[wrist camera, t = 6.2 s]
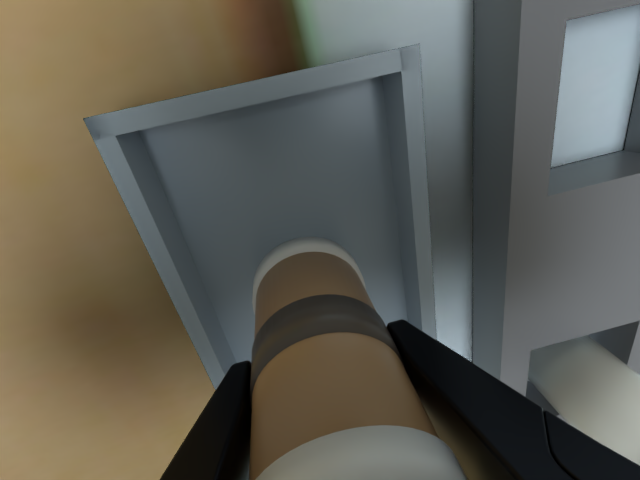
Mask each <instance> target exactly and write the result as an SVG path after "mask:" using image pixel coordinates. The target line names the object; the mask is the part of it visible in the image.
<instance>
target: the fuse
mask: <svg viewBox="0 0 640 480" xmlns="http://www.w3.org/2000/svg"><path fill="white" fill-rule="evenodd" d="M527 380H528V381H530V382H531V383H532V384H533V385H534V386H535V387H536V389H537V390H538V391H539V392H540V393H541V394H542V395H543V396H544V397H545V399H546V400H547V401H548V402H549V403H550V404H551V405H552V406H553V407H554V409H555V410H556V411H557V412H558V413H559V414H560V415H561V416H562V417H563V419H564V420H565V421H566V422H567V423H568V424H570V425H571V426H573V427H575V428H576V429H578V430H580V431H581V432H583V433H584V434H586V435H588V436H589V437H591V438H593V439H594V440H596V441H598V442H599V443H601V444H603V445H604V446H606V447H608V448H610V449H611V450H613V451H615V452H617V453H619V454H620V455H622V456H624V457H626V458H628V459H629V460H631V461H633V462H635V463H636V464H638V465H640V375H639V374H638V373H637V372H635V371H634V370H633V369H631V368H630V367H629V366H628V365H626V364H625V363H624V362H622V361H621V360H620V359H619V358H617V357H616V356H615V355H613V354H612V353H611V352H609V351H608V350H607V349H606V348H604V347H603V346H602V345H600V344H599V343H598V342H596V341H595V340H594V339H593V338H591V337H590V336H589V335H585V336H581V337H578V338H574V339H571V340H567V341H563V342H560V343H556V344H552V345H549V346H545V347H541V348H538V349H534V350H531V351H530V361H529V370H528V379H527Z"/></svg>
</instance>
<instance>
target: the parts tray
mask: <svg viewBox="0 0 640 480" xmlns="http://www.w3.org/2000/svg"><path fill="white" fill-rule="evenodd" d="M83 120H84V122H85V124H86V126H87V128H88V130H89V132H90V134H91V136H92V138H93V140H94V142H95V144H96V146H97V148H98V150H99V152H100V154H101V156H102V158H103V161H104V163H105V165H106V167H107V169H108V171H109V173H110V175H111V177H112V179H113V181H114V183H115V185H116V187H117V189H118V191H119V193H120V195H121V197H122V199H123V201H124V204H125V206H126V208H127V210H128V212H129V214H130V216H131V218H132V220H133V222H134V224H135V226H136V228H137V230H138V232H139V234H140V236H141V238H142V240H143V242H144V245H145V247H146V249H147V251H148V253H149V255H150V257H151V259H152V261H153V263H154V265H155V267H156V269H157V271H158V273H159V275H160V277H161V279H162V281H163V283H164V286H165V288H166V290H167V292H168V294H169V296H170V298H171V300H172V302H173V304H174V306H175V308H176V310H177V312H178V314H179V316H180V318H181V320H182V322H183V324H184V327H185V329H186V331H187V333H188V335H189V337H190V339H191V341H192V343H193V345H194V347H195V349H196V351H197V353H198V355H199V357H200V359H201V361H202V363H203V365H204V367H205V370H206V372H207V374H208V376H209V378H210V380H211V382H212V384H213V386H214V388H215V390H216V389H217V387H218V386H219V384H220V383H221V381H222V379H223V378H224V376H225V375H226V373H227V372H228V370H229V368H230V367H231V366H232V365H233V364H235V363H238V362H242V361H246V360H248V361H250V362H251V356H252V347H253V342H254V334H255V314H254V310H253V304H252V297H253V280H254V275H255V272H256V270H257V267H258V266H259V264H260V262H261V261H262V259H263V258H264V257H265V256H266V255H267V254H268V253H269V252H270V251H271V250H272V249H274V248H275V247H277V246H278V245H280V244H282V243H284V242H286V241H289V240H292V239H295V238H300V237H320V238H325V239H328V240H331V241H333V242H335V243H337V244H339V245H341V246H342V247H343V248H345V249H346V250H347V251H348V252H349V253H350V255H351V256H352V257H353V259H354V260H355V262H356V264H357V266H358V268H359V270H360V272H361V274H362V276H363V279H364V282H365V287H366V292H367V294H368V296H369V298H370V300H371V302H372V304H373V306H374V308H375V310H376V312H377V313H378V314H379V315H380V317H381V318H382V320H383V321H384V323H385V325H386V327H387V324H388V323H389V322H393V321H396V320H400V319H403V320H406V321H407V322H409V323H410V324H412V325H413V326H415V327H417V328H418V329H420V330H421V331H423V332H425V333H426V334H428V335H429V336H431V337H432V338H434V339H436V340H437V336H436V319H435V302H434V285H433V267H432V250H431V233H430V215H429V198H428V181H427V164H426V146H425V129H424V112H423V95H422V77H421V60H420V44H416V45H411V46H407V47H402V48H398V49H393V50H388V51H384V52H379V53H375V54H370V55H366V56H361V57H357V58H352V59H348V60H343V61H339V62H334V63H330V64H325V65H321V66H316V67H312V68H307V69H303V70H298V71H294V72H289V73H285V74H280V75H276V76H271V77H267V78H262V79H258V80H253V81H249V82H244V83H240V84H235V85H231V86H226V87H222V88H217V89H213V90H208V91H204V92H199V93H195V94H190V95H186V96H181V97H177V98H172V99H168V100H163V101H159V102H154V103H150V104H145V105H141V106H136V107H132V108H127V109H123V110H118V111H114V112H109V113H105V114H100V115H96V116H91V117H87V118H83Z"/></svg>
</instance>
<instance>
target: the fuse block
mask: <svg viewBox="0 0 640 480" xmlns="http://www.w3.org/2000/svg"><path fill="white" fill-rule="evenodd" d="M637 4H640V0H474V133H473V342H472V363H473V364H475V365H476V366H478V367H480V368H481V369H483V370H484V371H486V372H487V373H489V374H491V375H492V376H494V377H495V378H497V379H498V380H500V381H502V382H503V383H505V384H506V385H508V386H509V387H511V388H513V389H514V390H516V391H517V392H519V393H521V394H522V395H524V396H525V397H527V398H528V399H530V400H532V401H533V402H535V403H536V404H538V405H539V406H541V407H542V408H543V412H544V411H545V410H548V411H549V412H551V413H552V414H554V415H555V416H557V417H559V418H560V419H562V420H563V421H565V420H564V419H563V417H562V416H561V415H560V414H559V413H558V412H557V411H556V410H555V409H554V407H553V406H552V405H551V404H550V403H549V402H548V401H547V400H546V399H545V397H544V396H543V395H542V394H541V393H540V392H539V391H538V390H537V389H536V387H535V386H534V385H533V384H532V383H531V382H530V381H528V380H527V379H528V370H529V361H530V351H531V350H534V349H538V348H541V347H545V346H549V345H552V344H556V343H560V342H563V341H567V340H571V339H574V338H578V337H581V336H585V335H589V336H590V337H591V338H593V339H594V340H595V341H596V342H598V343H599V344H600V345H602V346H603V347H604V348H606V349H607V350H608V351H609V352H611V353H612V354H613V355H615V356H616V357H617V358H619V359H620V360H621V361H622V362H624V363H625V364H626V365H628V366H629V367H630V368H631V369H633V370H634V371H635V372H637V373H638V374H639V375H640V73H639V78H638V83H637V88H636V93H635V97H634V102H633V107H632V112H631V117H630V122H629V127H628V132H627V137H626V142H625V147H624V150H623V151H619V152H615V153H611V154H607V155H603V156H599V157H595V158H591V159H587V160H583V161H579V162H575V163H570V164H566V165H562V166H558V167H554V168H550V167H551V158H552V149H553V139H554V130H555V121H556V112H557V103H558V93H559V84H560V75H561V66H562V57H563V47H564V38H565V29H566V20H570V19H575V18H579V17H583V16H588V15H592V14H597V13H601V12H606V11H610V10H615V9H619V8H624V7H628V6H633V5H637ZM565 422H566V421H565ZM566 423H567V422H566Z"/></svg>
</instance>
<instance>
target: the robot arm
mask: <svg viewBox="0 0 640 480" xmlns="http://www.w3.org/2000/svg"><path fill="white" fill-rule="evenodd" d="M387 329H388V331H389V333H390V335H391V337H392V339H393V341H394V343H395V345H396V347H397V349H398V351H399V353H400V355H401V357H402V358H403V361H404V363H405V370H406V372H407V374H408V376H409V378H410V380H411V382H412V384H413V386H414V388H415V390H416V392H417V394H418V396H419V398H420V400H421V402H422V404H423V406H424V408H425V410H426V412H427V414H428V416H429V418H430V420H431V422H432V424H433V426H434V428H435V430H436V432H437V434H438V436H439V438H440V440H442V441H444V442H445V443H446V444H447V445H448V446H449V447H450V448H451V450H452V451H453V453H454V454H455V456H456V457H457V459H458V461H459V463H460V465H461V467H462V469H463V471H464V473H465V475H466V477H467V479H468V480H640V465H638V464H636V463H635V462H633V461H631V460H629V459H628V458H626V457H624V456H622V455H620V454H619V453H617V452H615V451H613V450H611V449H610V448H608V447H606V446H604V445H603V444H601V443H599V442H598V441H596V440H594V439H593V438H591V437H589V436H588V435H586V434H584V433H583V432H581V431H580V430H578V429H576V428H575V427H573V426H571V425H570V424H568V423H566V422H565V421H563V420H562V419H560V418H559V417H557V416H555V415H554V414H552V413H551V412H549V411H548V410H545V411H544V412H543V408H542V407H541V406H539V405H538V404H536V403H535V402H533V401H532V400H530V399H528V398H527V397H525V396H524V395H522V394H521V393H519V392H517V391H516V390H514V389H513V388H511V387H509V386H508V385H506V384H505V383H503V382H502V381H500V380H498V379H497V378H495V377H494V376H492V375H491V374H489V373H487V372H486V371H484V370H483V369H481V368H480V367H478V366H476V365H475V364H473V363H472V362H470V361H469V360H467V359H465V358H464V357H462V356H461V355H459V354H458V353H456V352H454V351H453V350H451V349H450V348H448V347H447V346H445V345H443V344H442V343H440V342H439V341H437V340H436V339H434V338H432V337H431V336H429V335H428V334H426V333H425V332H423V331H421V330H420V329H418V328H417V327H415V326H413V325H412V324H410V323H409V322H407V321H406V320H403V319H400V320H396V321H393V322H389V323H388V324H387ZM250 377H251V362H250V361H248V360H246V361H242V362H238V363H235V364H233V365H232V366H231V367H230V368H229V370H228V372H227V373H226V375H225V376H224V378H223V379H222V381H221V383H220V384H219V386H218V387H217V389H216V391H215V392H214V394H213V395H212V397H211V399H210V400H209V402H208V403H207V405H206V407H205V408H204V410H203V411H202V413H201V415H200V416H199V418H198V419H197V421H196V423H195V424H194V426H193V427H192V429H191V430H190V432H189V434H188V435H187V437H186V438H185V440H184V442H183V443H182V445H181V446H180V448H179V450H178V451H177V453H176V454H175V456H174V458H173V459H172V461H171V462H170V464H169V466H168V467H167V469H166V470H165V472H164V473H163V475H162V477H161V478H160V480H249V465H250V439H251V413H252V409H251V407H250V402H249V399H250Z"/></svg>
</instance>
